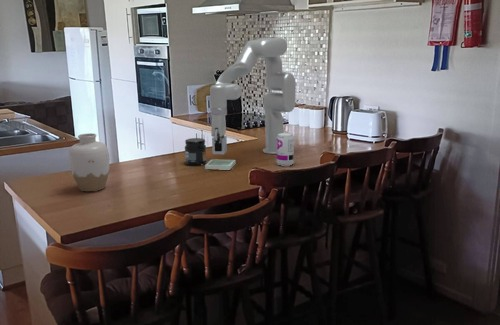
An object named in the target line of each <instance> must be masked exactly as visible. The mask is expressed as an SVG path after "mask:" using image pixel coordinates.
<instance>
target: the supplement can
mask: <svg viewBox="0 0 500 325" xmlns="http://www.w3.org/2000/svg"><path fill="white" fill-rule="evenodd" d="M294 144H295V136H294V134H293V133H290V132H283V133H279V134H278V136H277V154H276V164H277V166H279V165H281V166H280V167H290V165H292V164H293V165H294V163H295V162H294V161H295V159H294V158H295V156H294V155H295V153H294V152H295V150H294V149H295V148H294V147H295V145H294ZM293 165H292V166H293Z"/></svg>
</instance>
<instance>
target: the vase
mask: <svg viewBox="0 0 500 325" xmlns="http://www.w3.org/2000/svg"><path fill="white" fill-rule="evenodd" d="M77 138H78V140H79V142H78V143H75V144H73V145H72V146H71V147H70V148H69V152H68V163H69V166H70V171H71V174H72V178H73V179H74V181H75V183H76V185H77V187H78V188H79V190H80V191H81V190H82V191H81V192H83V191H95V192H99V191H98V190H100V191H102V190H104V189H105V187H106V185H107V181H108V178H109V172H110V165H111V163H110V160H111V158H110V152H109V149H108V146H107V145H106V144H105V143H104V142H101V141H97V140H96V138H97V134H96V133H82V134H78V135H77ZM103 188H104V189H103ZM101 189H102V190H101Z"/></svg>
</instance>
